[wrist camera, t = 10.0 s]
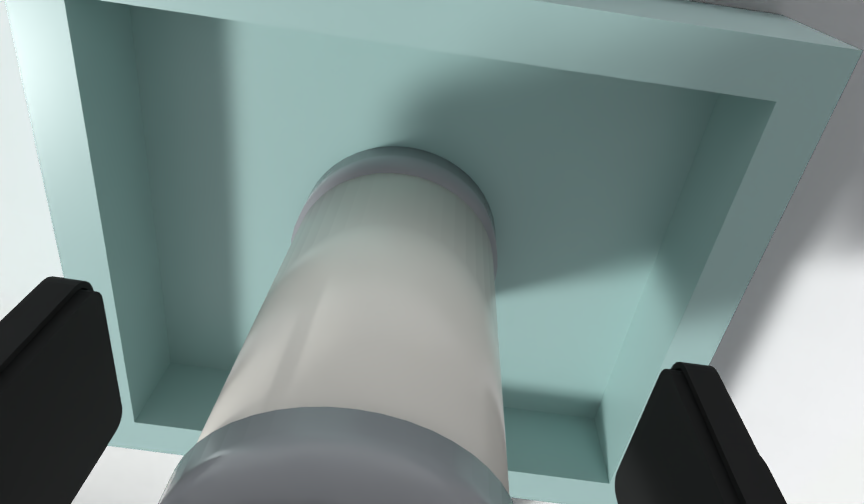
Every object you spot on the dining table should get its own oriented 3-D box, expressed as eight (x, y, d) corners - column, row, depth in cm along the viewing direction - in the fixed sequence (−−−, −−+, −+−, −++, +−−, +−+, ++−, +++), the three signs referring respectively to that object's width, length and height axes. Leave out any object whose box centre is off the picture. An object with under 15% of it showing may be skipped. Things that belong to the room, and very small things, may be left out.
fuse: (305, 131, 14) (92, 470, 6) (512, 162, 14) (573, 531, 6) (300, 301, 16) (145, 699, 8) (477, 325, 16) (488, 740, 8)
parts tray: (87, -93, 12) (-14, -84, 10) (781, 15, 13) (863, 50, 10) (150, 365, 18) (99, 444, 16) (612, 426, 19) (636, 513, 16)
